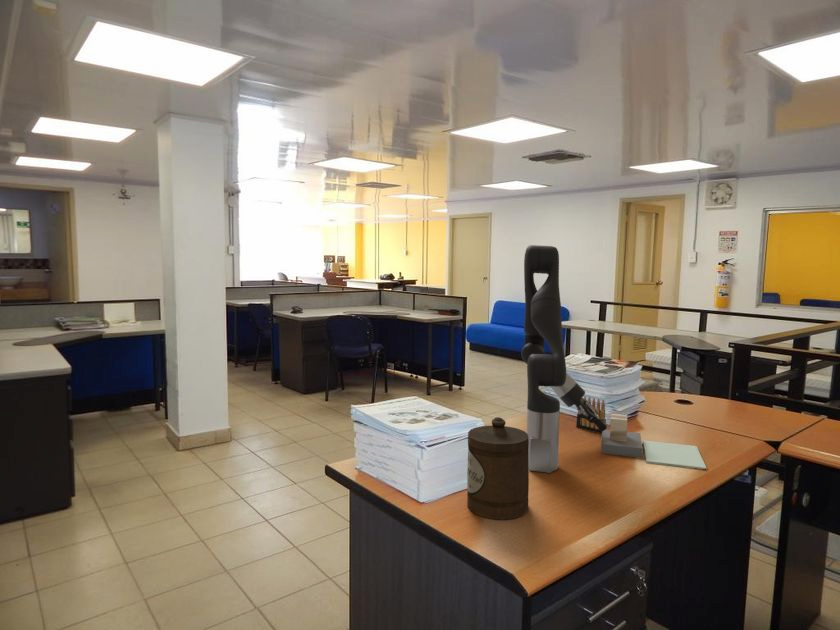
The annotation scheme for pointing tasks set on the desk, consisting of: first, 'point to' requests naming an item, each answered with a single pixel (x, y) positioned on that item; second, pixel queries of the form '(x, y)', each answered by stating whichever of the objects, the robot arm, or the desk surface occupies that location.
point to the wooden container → (498, 471)
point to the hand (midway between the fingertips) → (604, 429)
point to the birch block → (618, 427)
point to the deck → (622, 445)
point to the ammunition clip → (585, 423)
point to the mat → (673, 455)
